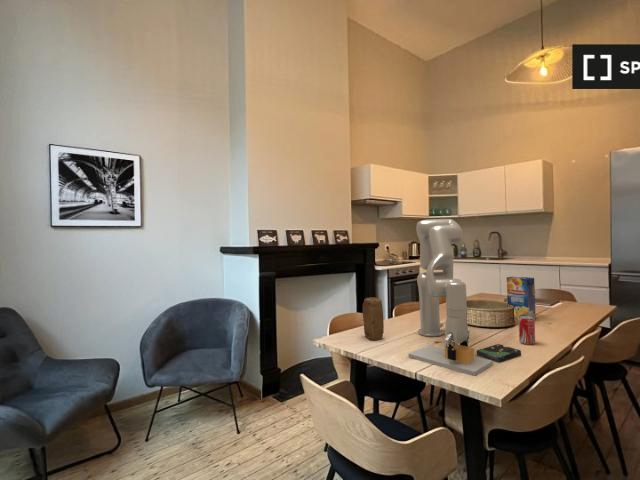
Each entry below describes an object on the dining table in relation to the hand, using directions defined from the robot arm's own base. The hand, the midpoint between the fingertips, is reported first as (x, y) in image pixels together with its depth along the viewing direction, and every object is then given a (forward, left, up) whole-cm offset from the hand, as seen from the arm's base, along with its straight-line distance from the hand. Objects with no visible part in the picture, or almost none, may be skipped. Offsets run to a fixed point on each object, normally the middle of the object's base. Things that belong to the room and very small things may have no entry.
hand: (458, 356), depth 134 cm
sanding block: (0, +1, -1) cm, 1 cm away
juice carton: (-90, -8, -3) cm, 90 cm away
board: (0, -4, -3) cm, 5 cm away
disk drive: (-19, +7, -3) cm, 21 cm away
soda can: (-44, +10, -3) cm, 45 cm away
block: (-4, -47, -3) cm, 47 cm away
